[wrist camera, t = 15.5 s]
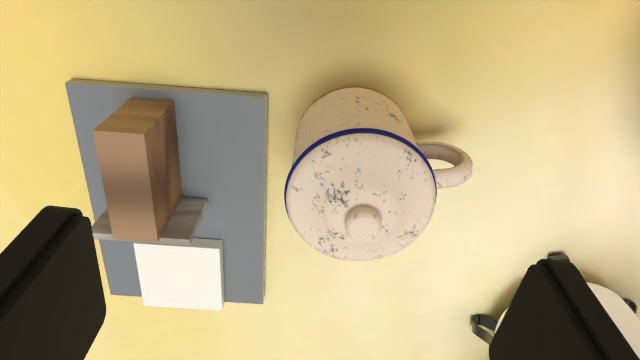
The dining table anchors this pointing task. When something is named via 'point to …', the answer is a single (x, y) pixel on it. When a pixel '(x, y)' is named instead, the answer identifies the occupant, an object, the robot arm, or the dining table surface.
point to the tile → (182, 274)
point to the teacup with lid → (364, 176)
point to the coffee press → (618, 309)
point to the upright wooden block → (144, 176)
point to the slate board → (192, 174)
